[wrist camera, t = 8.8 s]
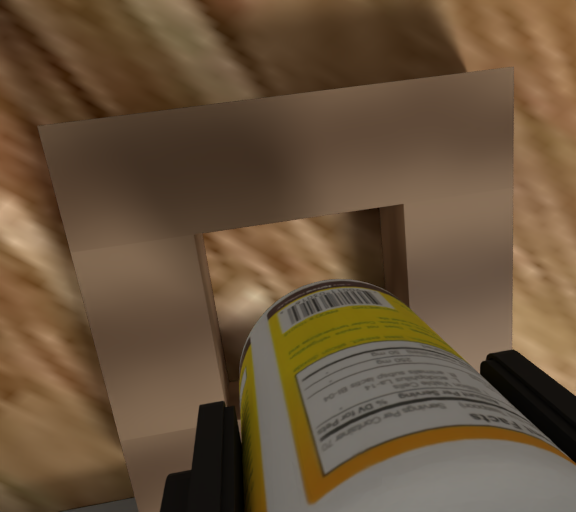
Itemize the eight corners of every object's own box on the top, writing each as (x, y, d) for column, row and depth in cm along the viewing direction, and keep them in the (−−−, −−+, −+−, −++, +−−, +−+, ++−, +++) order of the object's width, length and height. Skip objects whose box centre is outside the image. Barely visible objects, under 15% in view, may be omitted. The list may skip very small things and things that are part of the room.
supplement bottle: (334, 470, 15) (544, 1153, 5) (198, 374, 13) (106, 1065, 3) (457, 347, 14) (984, 842, 4) (328, 231, 13) (675, 574, 3)
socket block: (476, 415, 23) (511, 455, 20) (154, 475, 22) (142, 527, 19) (470, 77, 19) (514, 66, 16) (69, 127, 17) (37, 125, 14)
